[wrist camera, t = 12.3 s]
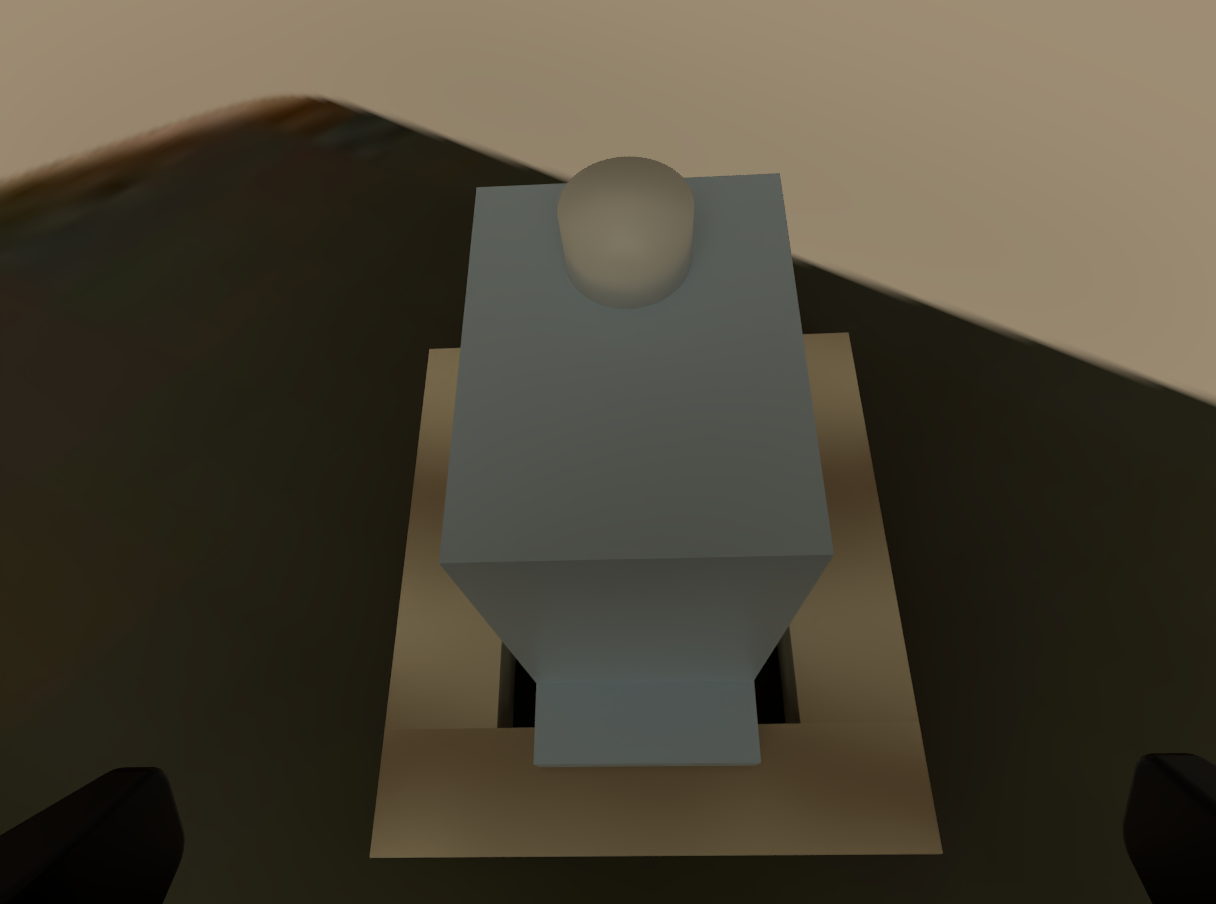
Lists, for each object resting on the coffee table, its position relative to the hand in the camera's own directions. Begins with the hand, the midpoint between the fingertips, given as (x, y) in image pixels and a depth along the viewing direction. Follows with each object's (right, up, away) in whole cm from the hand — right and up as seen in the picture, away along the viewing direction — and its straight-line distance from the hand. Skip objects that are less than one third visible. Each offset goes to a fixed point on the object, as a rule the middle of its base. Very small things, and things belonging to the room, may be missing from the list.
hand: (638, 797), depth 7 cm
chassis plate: (+1, 0, +13) cm, 13 cm away
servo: (+1, 0, +13) cm, 13 cm away
